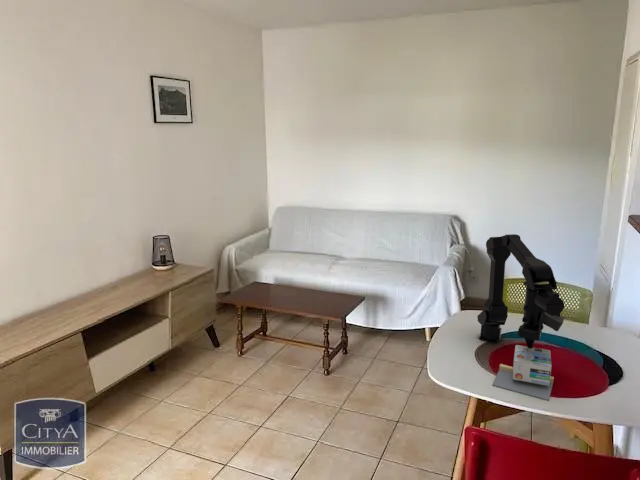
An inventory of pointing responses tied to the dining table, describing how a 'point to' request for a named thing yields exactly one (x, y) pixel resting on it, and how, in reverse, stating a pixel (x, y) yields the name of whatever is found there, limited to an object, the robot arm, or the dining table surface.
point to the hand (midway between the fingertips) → (530, 347)
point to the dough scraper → (521, 384)
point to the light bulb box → (532, 365)
